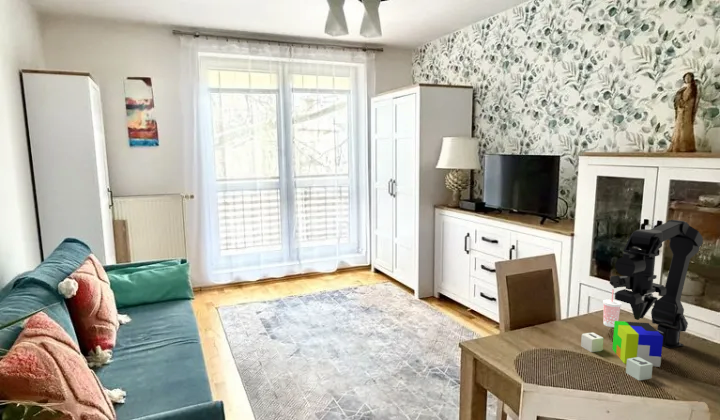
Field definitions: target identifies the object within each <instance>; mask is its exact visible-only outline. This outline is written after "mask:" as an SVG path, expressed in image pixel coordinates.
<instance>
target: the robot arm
mask: <svg viewBox="0 0 720 420" xmlns="http://www.w3.org/2000/svg"><path fill="white" fill-rule="evenodd" d="M667 240H669V245H668V246H669V249H670V250H671V254H672V258H671V262H670V266H669V270H668V274H667V278H666V282H665V285H663V284H659V283H657V282H654V280H656V279H657V277H658V276H657V275H656V274H655V265H656V264H655V263H656V257H658V256H659V253H658V251H659V250H660V249H661V248H662V247H663V242H665V241H667ZM703 243H704V238H703V235H702V234H701V232H700V231H699V230H697V229H696V228H693V227H692V226H691V225H689V223H688V222H687V221H685V220H677V219H669V220H667V222H665V223H663V224H660V225H657V226H655V227H652V228H650V229H644V228H643V229H641V228H640V229H636V230H634V231H633V232H632V233H631V235H630V236H629V238H628V240H627V242H626V244H625V247H624V249H623V253H622V257H619V258H618V259H617V260H616V262H615V263H614V264H615V265H614V267H615V270H616V272H617V273H618V274H620V275H617V274H616V275H612V276H610V279H609V284H610V286H612V287H613V288H614V289H617V288H623V289H621V290H617V291H616V292H615V293H614V300H616V301H619V302H621V303H622V302H623V303H626V304H629V306H630V307H631V311H632V314H633V318H634V319H635V320H637V321H638V320H639V321H640V319H643V318H645V316H646V315H647V313H648V312H649V310H650V309H651V311H650V315H651V322H652V323H651V324H654V325H657V328H656V330H657V331H658V332H659V333H660V334H661V335H662V336H663V343H662V347H666V348H668V349H673V348H678V347H679V348H680V347H684V343H681V342H680V339H681V337H680V336H681V332H687V328H688V325H689V323H688V321H687V319H686V317H685V315H684V312H685V309H684V305H683V303H682V302H681V298H682V295H683V289H684V285H685V282H686V278H687V273H688V271H689V270H688V269H689V266H690V262H691V258H693V257H694V256H695V255H696V254H698V253H699V251H700V248H701V246H702V245H703ZM624 288H625V289H624ZM653 293H658V295H659V296H660V297H659V298H658V297H656V296H654V294H653ZM651 307H652V308H651Z"/></svg>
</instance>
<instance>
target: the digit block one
mask: <svg viewBox="0 0 720 420" xmlns="http://www.w3.org/2000/svg"><path fill="white" fill-rule="evenodd" d="M580 347H582V348H583V349H585V350H586V351H588V352H591V353H595V352H601V351H603V350H604V349H603V347H604V337H603V336H601V335H599V334H597V333H596V332H585V333H582V334H581V341H580Z"/></svg>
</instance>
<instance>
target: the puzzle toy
mask: <svg viewBox="0 0 720 420" xmlns="http://www.w3.org/2000/svg"><path fill="white" fill-rule="evenodd" d="M662 343H663V336H662V335H661V334H660V333H659V332H658V331H657V328H654V326H652V325H651V324H650V323H649V322H638V321H637V322H636V321H621V320H618V321H615V322H614V327H613V337H612V346H611V347H612V348H611V349H612V350H613V352H614V353H615V355H616V356H617V357H618V358H619V359H620V360H621V362H623V364H624V365H627V359H630V358H636V357H640V358H642V359H644V360H646V361H648V362H650V363H651V364H653V367H657V368H658V367H659V368H660V367H661V363H662V354H663V353H662V352H663V345H662Z"/></svg>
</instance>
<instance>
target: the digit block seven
mask: <svg viewBox="0 0 720 420" xmlns="http://www.w3.org/2000/svg"><path fill="white" fill-rule="evenodd" d="M625 366H626V367H625V373H626V374H627V375H629V376H631V377H632V378H633V379H635V380H637V381H645V380H649V379H652V378H653V377H652V375H653V367H654V366H653V364H651V363H650V362H648V361H646V360H644V359H642V358H640V357H636V358H630V359H627V364H625Z"/></svg>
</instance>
